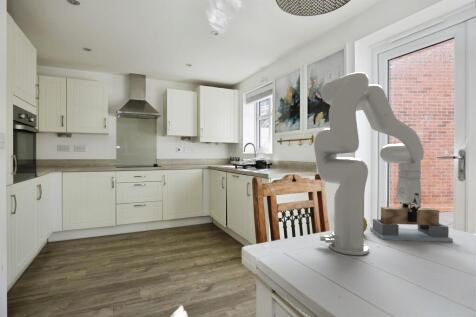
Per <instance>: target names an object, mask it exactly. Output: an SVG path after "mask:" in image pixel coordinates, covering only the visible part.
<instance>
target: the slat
mask: <svg viewBox="0 0 476 317" xmlns="http://www.w3.org/2000/svg"><path fill="white" fill-rule="evenodd" d="M408 212H409V208H408V207H401V206H399V207H397V206H380V219H381V222H383V223H385V224H397V225H412V226H414V225H416V226H418V225H439V223H440V210H439V209H437V208H433V207H420V208H419V209H418V212H417V222H409V221H408Z"/></svg>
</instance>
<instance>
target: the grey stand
mask: <svg viewBox="0 0 476 317" xmlns="http://www.w3.org/2000/svg"><path fill="white" fill-rule="evenodd" d="M399 225H400V224H385V223H383V222H381V218H372V226H370V227H369V230H370V231H371V232H372V233H373V232H374V234H375V235H376V236H378V237H379V238H381V239H382V240H395V241H397V240H398V241H420V242H422V241H423V242H442V243H443V242H447V243H448V242H449V243H452V242H454V239H453V238H452V237H449V226H448V225H444V224H442V223H440V222H439V225H417V228H403V227H402V228H401V227H400V226H399ZM399 227H400V228H399Z"/></svg>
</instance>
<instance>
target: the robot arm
mask: <svg viewBox="0 0 476 317" xmlns="http://www.w3.org/2000/svg"><path fill="white" fill-rule="evenodd" d="M369 82H370V79H369V76H368V74H367V73H365V72H362V71H359V72H357V71H356V72H353V73H349V74H346V75H343V76H341V77H337V78H334V79H332V80H330V81H327V82H326V83H325V84H324V85H323V86H322V87H321V92H320V96H321V98H322V100H323V101H324V102H325V103H326V104H328V105H329V110H328V122H329V128H324V129H321V130H320V131H318V132H317V134H316V135H315V138H314V140H313V141H314V142H313V147H314V154H315V161H316V162H315V163H316V168H317V172H318V176H319V177H320V180H322V181H324V182H325V183H329V184H330V183H331V184H336V185H339V186H338V187H337V190H336V192H335V194H334V199H333V202H334V203H333V204H334V205H333V206H334V207H333V208H334V209H333V213H334V214H333V217H334V218H333V219H334V220H333V232H331V234H328V235H323V234H321V235H319V240H320V242H325V244H326V243H327V244H328V245H329V248H330V249H331V250H333V251H334V252H337V253H340V254H344V255H347V256H349V255H350V256H362V255H366V254H368V253H369V252H370V248H369V246H368V245H367V244H365V242H364V241H365V231H364V218H365V192H366V186H367V185H366V184H367V180H368V176H369V167H368V165H367V164H366V163H365V161H363V160H362V159H360V158H355V157H337V155H349V154H354V153H356V152H357V151H358V150H359V146H360V139H359V131H358V122H357V114H356V113H357V112H358V111H363V113H364V115H365V116H366V119H367V121H368V123H369V125H370V127H371V129H372V130H373V131H376V132H378V133H381V134H384V135H387V136H390V137H393V138H395V139H397V140H399V141H400V142H401V143H395V144H394V143H393V144H392V143H391V144H387V145H384V146H383V147H382V148H381V149H380V151H379V152H380V153H379V156H380V158H381V160H382V161H384V162H386V163H388V164H398V166H397V167H398V170H397V171H398V174H397V177H398V178H397V183H396V201H397V202H399V204H400V207H408V208H409V212H408V221H409V222H417V212H418V209H419V208H422V204H421V203H422V185H421V179H422V178H421V177H422V176H421V175H422V173H421V172H422V171H421V169H422V161H423V159H424V157H425V156H424V155H425V154H424V153H425V151H424V147H423V144H422V142H421V139H420V137H419V135H418V134H417V132H416V131H415V130H414V129H413V128H412V127H411V126H409V125H407V124H406V123H405V122H403V121H402V120H399V119H397V117H396V116H395V113H394V111H393V108H392V106H391V104H390V102H389V100H388V97H387V95H386V93H385V90H384V89H383V86H381V85H379V84H369Z"/></svg>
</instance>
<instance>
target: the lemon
mask: <svg viewBox="0 0 476 317" xmlns="http://www.w3.org/2000/svg"><path fill="white" fill-rule="evenodd" d="M367 229H368V221H367V219H366V218H365V217H364V232H365V231H366V230H367Z"/></svg>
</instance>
